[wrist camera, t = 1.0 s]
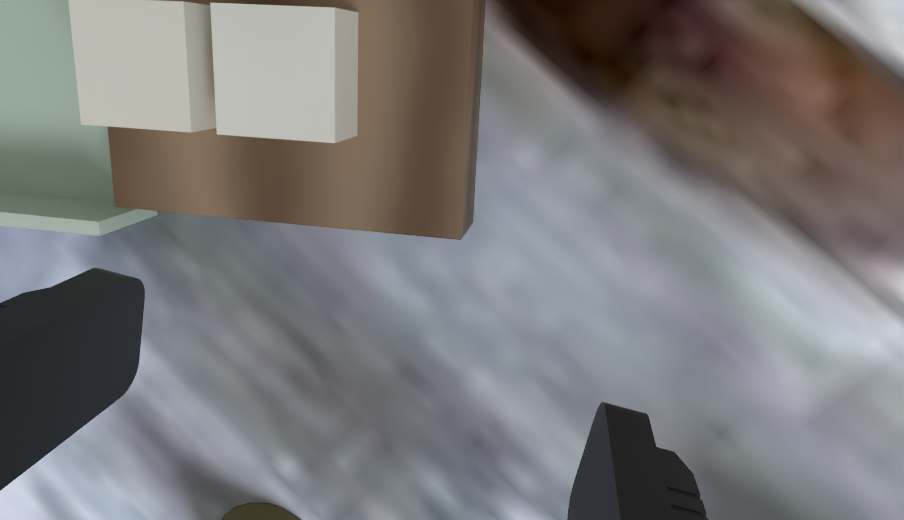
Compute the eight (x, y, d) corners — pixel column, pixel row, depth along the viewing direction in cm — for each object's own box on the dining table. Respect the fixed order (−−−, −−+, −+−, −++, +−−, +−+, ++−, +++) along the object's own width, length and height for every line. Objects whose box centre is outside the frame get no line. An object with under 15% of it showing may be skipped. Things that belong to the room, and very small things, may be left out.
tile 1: (358, 12, 26) (335, 7, 23) (357, 135, 27) (334, 143, 25) (244, 7, 26) (210, 2, 24) (248, 127, 28) (216, 134, 25)
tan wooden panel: (490, -83, 27) (478, -99, 24) (472, 222, 30) (460, 239, 27) (134, -89, 29) (85, -105, 26) (156, 193, 33) (115, 207, 30)
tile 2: (219, 6, 26) (183, 1, 24) (225, 126, 28) (191, 132, 25) (112, 2, 27) (67, -4, 25) (122, 119, 29) (80, 124, 26)
